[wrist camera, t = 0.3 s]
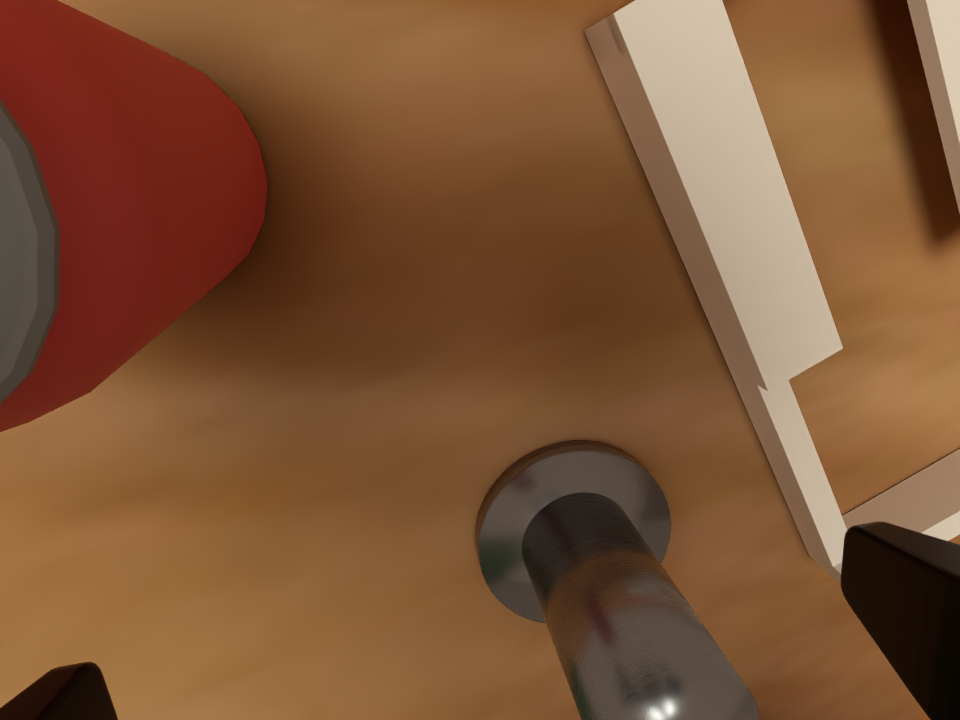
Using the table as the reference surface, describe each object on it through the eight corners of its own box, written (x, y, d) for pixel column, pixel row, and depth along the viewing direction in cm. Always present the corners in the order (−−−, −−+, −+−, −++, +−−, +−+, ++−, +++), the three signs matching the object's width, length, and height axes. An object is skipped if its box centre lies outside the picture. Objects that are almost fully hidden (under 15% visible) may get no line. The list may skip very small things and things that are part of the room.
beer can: (319, 210, 18) (235, 300, 7) (139, 338, 19) (-210, 616, 8) (156, -7, 16) (-336, -367, 5) (-45, 143, 17) (-934, 123, 5)
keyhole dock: (1040, 424, 25) (1106, 450, 23) (809, 556, 26) (851, 595, 23) (908, -164, 18) (985, -209, 16) (583, 30, 18) (613, 13, 16)
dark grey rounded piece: (686, 546, 24) (851, 754, 16) (529, 636, 25) (611, 889, 16) (612, 404, 22) (760, 561, 14) (439, 505, 22) (479, 722, 14)
